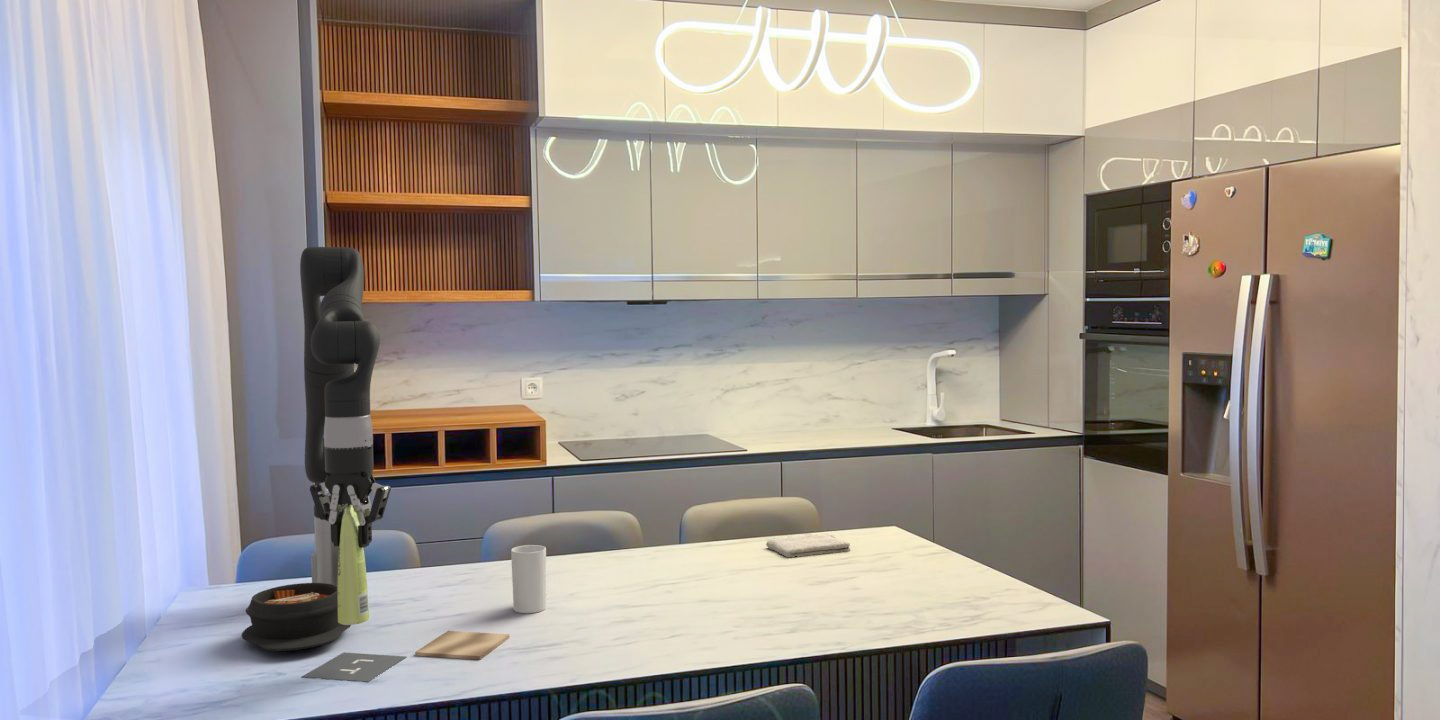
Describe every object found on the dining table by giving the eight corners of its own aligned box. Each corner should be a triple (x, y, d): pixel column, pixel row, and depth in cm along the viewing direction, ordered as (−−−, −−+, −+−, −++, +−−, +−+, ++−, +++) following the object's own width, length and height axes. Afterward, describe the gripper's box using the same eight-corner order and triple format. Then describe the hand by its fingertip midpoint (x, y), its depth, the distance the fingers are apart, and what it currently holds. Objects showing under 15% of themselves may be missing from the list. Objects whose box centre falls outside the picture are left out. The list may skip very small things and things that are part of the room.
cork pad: (415, 655, 177) (415, 652, 177) (448, 633, 188) (448, 630, 188) (480, 659, 174) (480, 656, 174) (509, 637, 186) (509, 634, 186)
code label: (301, 680, 167) (301, 676, 167) (343, 655, 179) (343, 652, 179) (368, 685, 164) (368, 681, 164) (407, 660, 176) (406, 656, 176)
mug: (546, 613, 201) (545, 552, 200) (511, 615, 200) (510, 553, 199) (547, 598, 211) (546, 540, 210) (514, 600, 210) (512, 542, 209)
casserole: (240, 627, 194) (238, 583, 194) (345, 613, 202) (343, 571, 202) (242, 668, 172) (241, 618, 172) (360, 650, 180) (358, 603, 180)
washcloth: (853, 552, 249) (853, 540, 249) (787, 560, 242) (787, 547, 242) (829, 542, 260) (829, 530, 260) (765, 550, 253) (765, 537, 253)
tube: (329, 621, 171) (326, 504, 170) (357, 614, 175) (354, 500, 174) (347, 628, 167) (344, 509, 166) (376, 620, 171) (373, 504, 170)
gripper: (296, 445, 167) (299, 549, 168) (375, 447, 164) (378, 553, 165) (323, 438, 175) (326, 539, 176) (400, 440, 172) (402, 542, 173)
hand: (351, 545), depth 170 cm, fingers closed on tube, 4 cm apart
